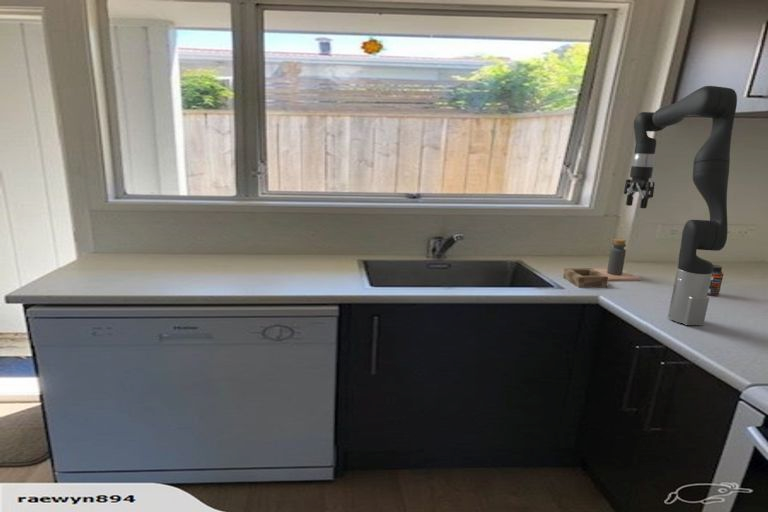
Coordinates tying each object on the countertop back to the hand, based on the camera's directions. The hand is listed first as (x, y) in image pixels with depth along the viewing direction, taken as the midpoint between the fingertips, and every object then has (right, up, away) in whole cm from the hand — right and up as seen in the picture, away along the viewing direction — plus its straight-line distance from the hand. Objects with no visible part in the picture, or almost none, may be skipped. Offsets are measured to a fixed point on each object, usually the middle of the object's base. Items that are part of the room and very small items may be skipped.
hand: (635, 206), depth 182 cm
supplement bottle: (+25, -34, -6) cm, 43 cm away
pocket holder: (-19, -30, +4) cm, 36 cm away
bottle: (-2, -27, +14) cm, 31 cm away
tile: (-2, -28, +14) cm, 31 cm away
